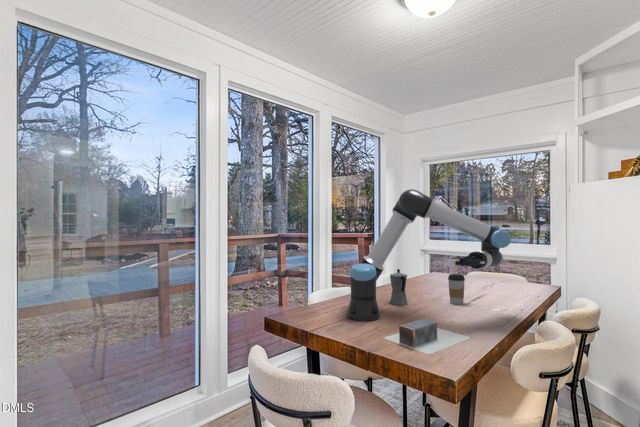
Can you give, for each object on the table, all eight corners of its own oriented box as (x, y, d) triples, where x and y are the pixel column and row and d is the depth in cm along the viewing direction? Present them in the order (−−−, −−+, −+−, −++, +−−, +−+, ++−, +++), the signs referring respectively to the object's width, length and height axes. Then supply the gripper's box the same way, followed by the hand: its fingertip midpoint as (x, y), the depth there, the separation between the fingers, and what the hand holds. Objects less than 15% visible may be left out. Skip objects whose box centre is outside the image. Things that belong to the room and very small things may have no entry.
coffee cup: (450, 301, 186) (450, 273, 186) (466, 303, 181) (466, 274, 182) (446, 304, 179) (445, 275, 180) (463, 306, 174) (462, 277, 175)
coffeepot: (386, 300, 188) (386, 267, 188) (403, 300, 189) (402, 267, 189) (395, 307, 173) (395, 272, 173) (413, 307, 174) (413, 271, 174)
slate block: (437, 339, 126) (413, 347, 118) (423, 334, 131) (399, 342, 123) (437, 322, 126) (413, 329, 118) (423, 318, 131) (399, 325, 123)
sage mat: (429, 356, 112) (429, 354, 112) (383, 339, 128) (383, 337, 128) (471, 338, 127) (471, 337, 127) (425, 325, 143) (425, 324, 143)
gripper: (493, 270, 148) (464, 274, 133) (465, 266, 158) (434, 270, 144) (494, 252, 148) (464, 255, 134) (465, 250, 158) (435, 252, 144)
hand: (449, 263), depth 139 cm, fingers closed
